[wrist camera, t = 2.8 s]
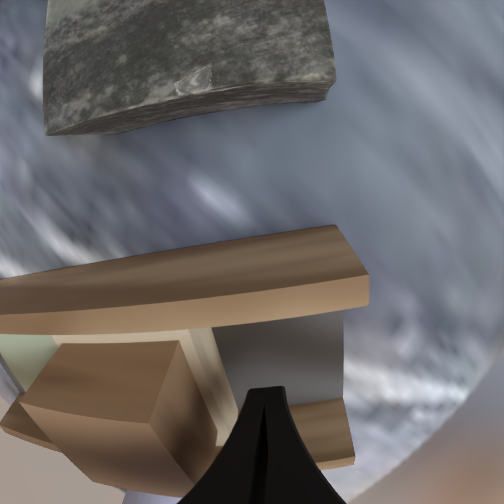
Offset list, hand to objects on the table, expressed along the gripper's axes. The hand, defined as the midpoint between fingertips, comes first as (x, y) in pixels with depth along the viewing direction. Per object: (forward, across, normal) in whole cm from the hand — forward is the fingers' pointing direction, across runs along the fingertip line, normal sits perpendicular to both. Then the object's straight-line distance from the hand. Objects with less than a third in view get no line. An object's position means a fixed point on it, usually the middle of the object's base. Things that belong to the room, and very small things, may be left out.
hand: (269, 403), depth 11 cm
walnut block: (+1, +6, 0) cm, 6 cm away
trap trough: (+4, +9, 0) cm, 10 cm away
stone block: (+4, -1, -18) cm, 18 cm away
